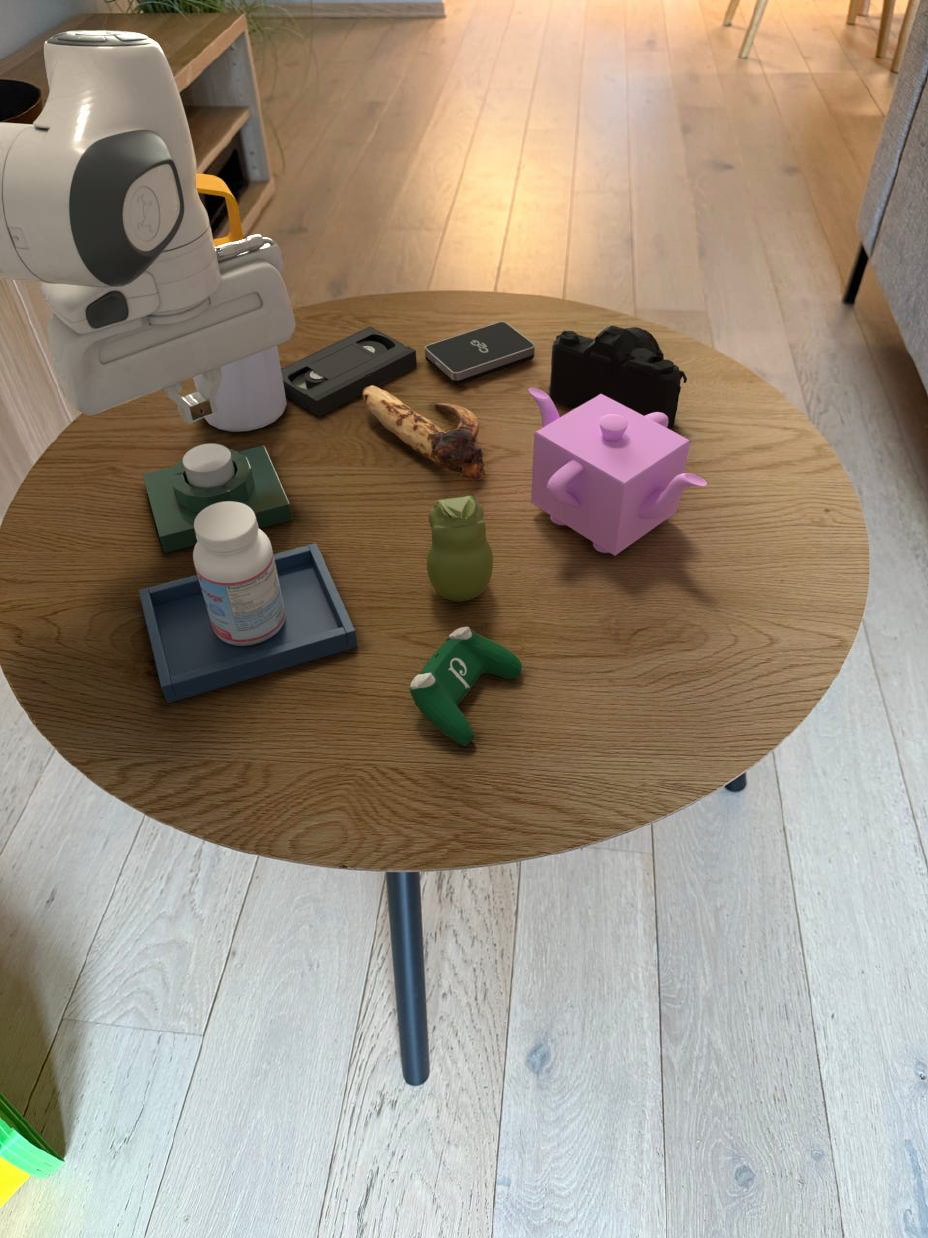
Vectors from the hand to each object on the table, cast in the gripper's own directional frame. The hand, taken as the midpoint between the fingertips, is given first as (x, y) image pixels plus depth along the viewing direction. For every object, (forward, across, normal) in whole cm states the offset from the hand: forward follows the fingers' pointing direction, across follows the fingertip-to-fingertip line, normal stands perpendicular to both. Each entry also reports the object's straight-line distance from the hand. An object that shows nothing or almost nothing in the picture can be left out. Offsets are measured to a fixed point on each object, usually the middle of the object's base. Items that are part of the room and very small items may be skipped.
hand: (199, 415), depth 84 cm
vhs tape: (+10, -22, -12) cm, 27 cm away
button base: (+10, 0, 0) cm, 10 cm away
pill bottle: (+10, +6, +16) cm, 20 cm away
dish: (+10, +6, +16) cm, 20 cm away
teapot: (+10, -27, +24) cm, 38 cm away
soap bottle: (+10, -10, -13) cm, 19 cm away
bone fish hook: (+10, -22, +4) cm, 25 cm away
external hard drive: (+10, -35, -5) cm, 37 cm away
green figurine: (+10, -11, +24) cm, 28 cm away
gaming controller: (+10, -4, +33) cm, 35 cm away
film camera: (+11, -42, +11) cm, 45 cm away
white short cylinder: (+6, 0, 0) cm, 7 cm away
